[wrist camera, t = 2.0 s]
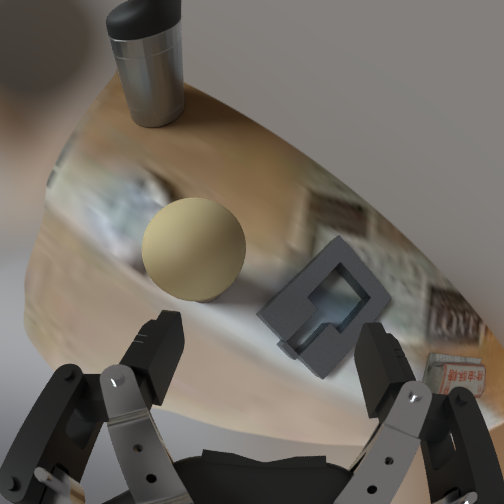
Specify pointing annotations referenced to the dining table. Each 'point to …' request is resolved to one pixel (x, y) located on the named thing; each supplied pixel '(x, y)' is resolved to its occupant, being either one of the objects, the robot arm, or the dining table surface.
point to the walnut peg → (194, 249)
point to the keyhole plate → (301, 309)
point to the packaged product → (454, 374)
